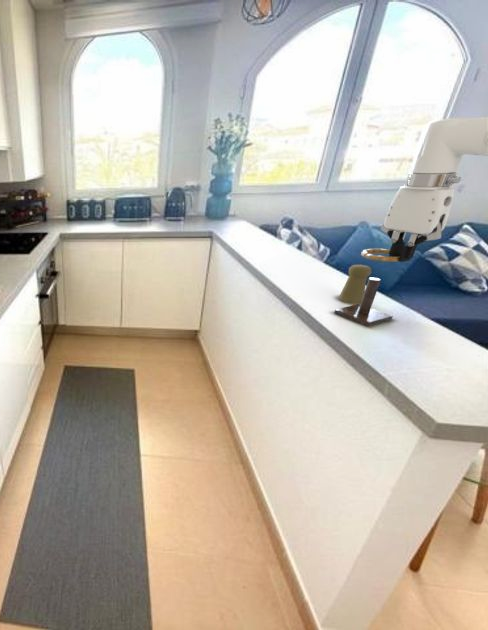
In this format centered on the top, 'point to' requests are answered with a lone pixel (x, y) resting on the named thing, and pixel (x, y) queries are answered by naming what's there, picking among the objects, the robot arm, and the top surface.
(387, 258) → the ring
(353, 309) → the rack
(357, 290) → the cork
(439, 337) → the top surface
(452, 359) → the top surface
